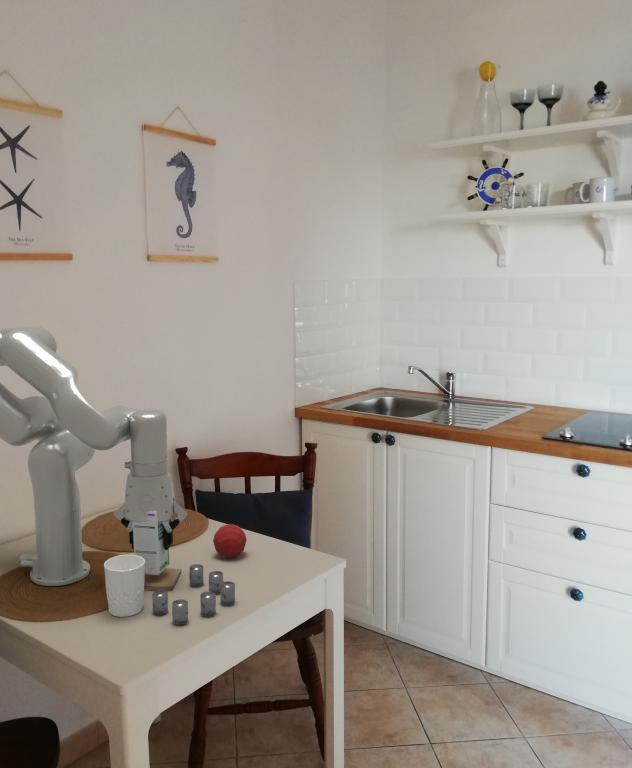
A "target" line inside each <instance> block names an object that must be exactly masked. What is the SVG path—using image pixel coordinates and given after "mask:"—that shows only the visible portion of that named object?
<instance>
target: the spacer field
mask: <svg viewBox="0 0 632 768" xmlns="http://www.w3.org/2000/svg"><path fill="white" fill-rule="evenodd" d="M188 569H189V571H188V572H189V575H188V576H189V579H188V580H189V586H190V587H191V588H201V587H203V586H204V565H203V564H201V563H200V564H198V563H195V564H192V565H189V568H188ZM168 592H169V591H165V590H158V591H153V592H152V594H151V595H152V614H153V616H156V617H157V616H158V617H161V616H162V617H163V616H166V615H167V614H168V613H169V593H168ZM218 595H219V596H220V597H219V599H220V602H219V603H220V606H223V607H231V605H232V606H234V605H235V604H234V603H236V583H235V582H234V581H231V580H230V581H224V573H223V572H222V571H220V570H215V571H211V572H209V573H208V591H204V592H201V593H200V602H199V603H200V616H201V617H203V618H212V617H214V616H216V614H217V612H216V611H217V605H216V604H217V601H216V600H217V599H216V598H217V597H216V596H218ZM171 606H172V607H171V609H172V612H171V613H172V616H171V617H172V618H171V619H172V625H174V626H176V627H183V626H186V625H187V624H188V623H189V602H188V600H186V599H183V598H182V599H175V600H174V601H172V603H171ZM211 616H212V617H211Z"/></svg>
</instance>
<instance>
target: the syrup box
mask: <svg viewBox="0 0 632 768" xmlns="http://www.w3.org/2000/svg"><path fill="white" fill-rule="evenodd" d="M146 513H148V520H147V521H141V522H133V540H134V549H133V555H137V556H140V557H142V558H144V560H145V574H151V575H159V574H160V573H161V572H162V571H163V570H164V569H165V568H167V567H168V566H169V565H170V548H169V549H168V550H165V549H164V532H165V527H164V525H163V523H162V522H158V519H157V511H153V510H151V511H149V512H146Z"/></svg>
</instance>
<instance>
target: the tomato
mask: <svg viewBox="0 0 632 768" xmlns="http://www.w3.org/2000/svg"><path fill="white" fill-rule="evenodd" d="M212 542H213V543H212V544H213V546H214V549H215V551H216V552H217V554H219V556H222V557H225V558H235V557H236V556H240V555H241V554H242V552H243V551H244V550H245V547H246V543H247V535H246V533H245V531H244V530H243V529H242V527H240V526H239V525H236V524H225V525H222V526H220V527H219V528H218V529H217V531H216V532H215V533H214V534H213V539H212Z"/></svg>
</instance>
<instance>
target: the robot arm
mask: <svg viewBox="0 0 632 768" xmlns="http://www.w3.org/2000/svg"><path fill="white" fill-rule="evenodd" d="M57 345H58V344H57V341H56V339H55V336H54V335H53V334H52V333H51V332H50V331H49V330H47V329H45V328H43V327H40V326H27V327H11V328H0V367H3V366H5V367H8V369H10V370H11V371H13V372H14V373H15V374H16V375H18V376H19V377H20V378H21V379H23V380H24V381H25V382H26V383H27V384H28V385H30V386H31V387H32V388H34V389H35V390H36V391H38V392H39V393H40V394H41V395H42V396H38V395H33V396H28V397H25V398H20V397H18V396H16V395H15V394H14V393H13V392H12V391H10V390H9V389H8V388H7V387H6V386H5V385H4V384H2V382H0V439H1V440H3V442H5V443H6V444H8V445H10V446H13V447H23V446H26V445H28V444H31V443H32V442H34V441H35V442H36V441H37V440H38V442H37V443H35V445H34V446H33V447H32V448H31V450H30V452H29V454H28V458H27V469H28V473H29V476H30V482H31V486H32V487H31V488H32V494H33V496H32V497H33V508H34V509H33V511H34V527H35V545H36V553H34V554H28V553H27V554H25V553H21V554H20V556H19V563H20V567H21V568H28V567H29V568H30V567H31V570H30V573H29V578H30V580H31V581H32V582H33V583H34V584H37V585H39V586H45V587H58V586H65V585H71V584H74V583H76V581H77V582H79V581H81V580H83V579H85V578H86V577H88V575H90V573H91V565H90V563H89V562H88V561H86V560H85V559H83V537H82V535H83V534H82V512H81V511H82V510H81V494H80V489H79V484H78V481H77V480H76V473H75V472H77V471H79V469H81V468H82V467H84V466H86V465H87V464H89V462H90V461H91V460H92V459H93V457H94V455H95V451H96V450H97V451H108V450H111V449H113V448H115V447H116V446H117V445H119V444H121V443H124V442H126V441H129V440H130V461H125V462H124V469H129V471H130V472H129V473H128V474H127V476H126V484H125V489H124V503H122V504H121V505H120V506H119V507H118V508H117V509H116V510H115V511H114V512H113V516H114V517H115V518H117V520H118V521H120V524H121V525H123V526H124V527H125V528H126V531H127V532H128V533H129V534H128V539H129V542H128V543H129V545H131V550H134V540H133V522H141V521H147V520H148V513H146V512H149V511H151V510H153V511H157V519H158V522H162V523H163V525H164V527H165V532H164V549H165V550H168V549H169V550H170V547H171V546H172V545H173V544H174V543H173V542H174V529H175V528H177V526H179V525H180V524H181V523H182V522H183V521H184V519H185V518H186V517H188V516H187V515H188V512H187V511H186V510H185V509H184V508H183V507H182V506H180V505H179V503H177V502H176V499H175V497H176V496H175V491H174V490H175V489H174V482H173V478H172V474H171V472H170V471H168V439H167V438H168V434H167V433H168V432H167V431H168V429H167V428H168V427H167V426H168V425H167V424H168V423H167V421H168V420H167V416H166V414H165V412H164V411H163V410H160V409H149V408H147V409H137V408H131V407H128V406H119V405H118V406H112V407H110V408H108V409H105V410H103V411H100V410H98V409H97V408H95V406H93V405H92V404H90V403H89V401H87V400H86V399H85V398H84V396H83V395H82V394H81V392H80V391H79V387H78V385H77V380H78V379H77V378H78V372H77V369H76V368H75V367H74V366H73V365H72V364H70V363H69V362H67V361H66V360H65V359H64V358H63V357H61V356H60V355H59V354H57V348H58V346H57ZM174 514H177V515H178V516H177V517H176V518H175V519H174V520H173V519H172V518H173V515H174ZM89 572H90V573H89Z"/></svg>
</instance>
